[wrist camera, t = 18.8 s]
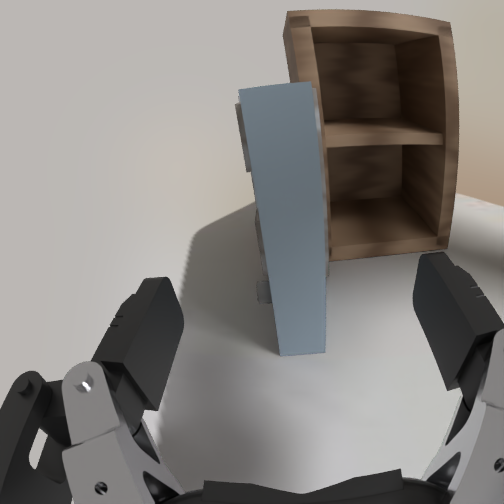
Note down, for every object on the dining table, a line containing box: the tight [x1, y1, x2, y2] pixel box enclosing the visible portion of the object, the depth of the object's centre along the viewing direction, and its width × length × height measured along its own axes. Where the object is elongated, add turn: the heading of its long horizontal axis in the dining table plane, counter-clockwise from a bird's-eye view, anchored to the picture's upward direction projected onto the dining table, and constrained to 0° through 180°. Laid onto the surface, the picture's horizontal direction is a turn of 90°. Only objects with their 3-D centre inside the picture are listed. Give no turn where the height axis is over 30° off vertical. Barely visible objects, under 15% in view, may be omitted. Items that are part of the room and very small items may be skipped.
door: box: [239, 81, 326, 356], centre depth 19 cm, size 4×10×16 cm, turn 176°
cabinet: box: [235, 9, 459, 277], centre depth 25 cm, size 19×15×22 cm
